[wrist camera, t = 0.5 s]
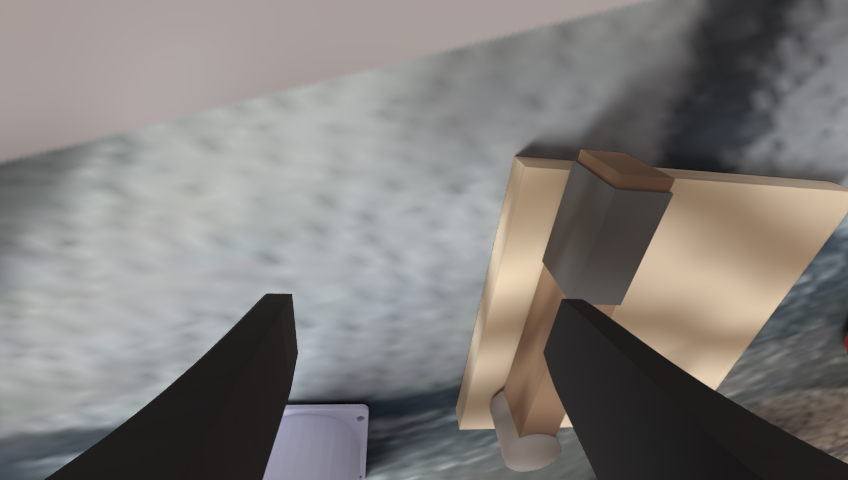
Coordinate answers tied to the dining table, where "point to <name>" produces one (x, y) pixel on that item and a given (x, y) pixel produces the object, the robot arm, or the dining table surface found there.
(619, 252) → the lever
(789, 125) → the dining table surface
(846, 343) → the red round piece
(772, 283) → the board
